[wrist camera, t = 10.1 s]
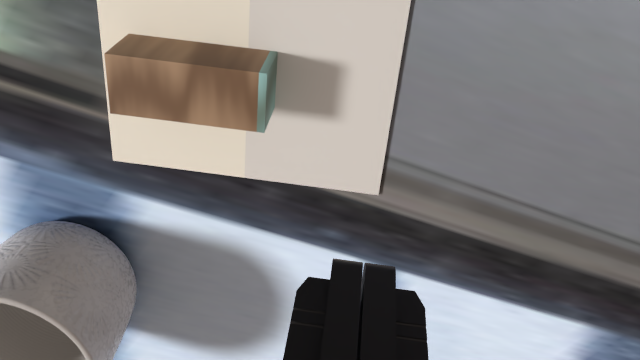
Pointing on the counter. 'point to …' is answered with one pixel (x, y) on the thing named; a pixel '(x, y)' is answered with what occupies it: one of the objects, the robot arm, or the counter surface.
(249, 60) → the walnut block
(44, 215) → the counter surface
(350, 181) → the cream flat rectangular panel
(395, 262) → the counter surface
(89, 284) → the planter
